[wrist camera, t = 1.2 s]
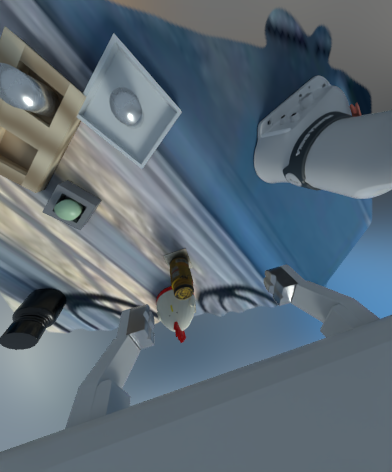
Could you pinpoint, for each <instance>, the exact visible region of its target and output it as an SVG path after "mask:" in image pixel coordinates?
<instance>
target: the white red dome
mask: <svg viewBox="0 0 392 472" xmlns="http://www.w3.org/2000/svg"><path fill="white" fill-rule="evenodd" d="M157 311H158V312H157V314H158V319H159V321H160V320H161V322H162V323H163V324H164V325H165V326H166V327H167V328H168V329H170V330H171V331H173V332H176V337H178V339H179V340H180V342H181V343H182V342H183V341H184V340H185V338H186V336H185V332H184V330H185V329H186V328H187V327H188V326H189V324H190V323H191V321H192V318H193V315H194V313H196V304H195V297H194V293H193V295H192V296H191V297H190V298H188V299H185V300H179V299H177V298H176V297H175V296H174V291H173V289H172V286H170V287H168V288H165V289H164V290H163V291H161V292H160V293H159V295H158V296H157Z"/></svg>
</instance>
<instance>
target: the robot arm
mask: <svg viewBox="0 0 392 472" xmlns="http://www.w3.org/2000/svg"><path fill="white" fill-rule="evenodd" d="M322 85H323V87H322ZM355 107H356V108H355ZM355 107H354V106H353V105H352V104H351V105H350V108H349V104H348V101H347V98H346V96H345V94H344V93H343V91H342V90H341V89H340V88H338V87H336V86H331V84H330V83H329V82H328V81H327V80H326V79H325V78H324V77H322V76H320V75H318V76H314V77H313V78H311V79H310V80H309V81H308V82H307V83H305V84H304V85H303V86H302V87H301V88H300V89H298V90H297V91H296V92H295V93H294V94H292V95H291V96H290V97H289V98H288V99H287V100H285V101H284V102H283V103H282V104H281V105H279V106H278V107H277V108H276V109H275V110H274V111H272V112H271V113H270V114H269V115H268V116H266V117H265V118H264V119H263V120H262V121H261V122H260V123H259V125H258V142H257V146H256V149H255V154H254V166H255V170H256V172H257V174H258V176H259V177H260V178H261V179H262V180H263V181H265V182H268V183H277V182H289V183H292V184H294V185H297V186H301V187H304V188H308V189H313V190H326V191H330V192H334V193H338V194H341V195H345V196H349V197H353V198H358V199H365V198H372V197H375V196H378V195H381V194H383V193H386V192H388V191H390V190H392V110H389V111H384V112H380V113H374V114H368V115H363V116H361V112H360V108H359V106H358V104H357V103H356V104H355ZM350 110H351V113H352V116H351V113H350ZM268 121H269V124H268ZM265 275H266V277H265V278H264V285H265V287H266V289H267V290H268V292H269V293H271V294H273V298H274V300H275V301H276V302H277V304H278V305H279V306H281V305H284V304H288V303H292V304H293V305H295V306H297V307H298V308H300V309H302V310H303V311H305V312H306V313H308V314H310V315H311V316H313V317H315V318H316V319H318V320H320V321H321V322H323V325H322V327H321V330H320V331H321V332H322V333H323V335H325V337H326V338H324V339H321V340H319V341H316V342H313V343H310V344H307V345H304V346H301V347H299V348H296V349H293V350H290V351H287V352H284V353H281V354H279V355H276V356H273V357H270V358H267V359H264V360H261V361H259V362H256V363H253V364H250V365H247V366H244V367H241V368H239V369H236V370H233V371H230V372H227V373H224V374H221V375H219V376H216V377H213V378H210V379H207V380H204V381H201V382H199V383H196V384H193V385H190V386H187V387H184V388H181V389H179V390H176V391H173V392H170V393H167V394H164V395H162V396H159V397H156V398H153V399H150V400H147V401H144V402H142V403H139V404H136V405H133V406H130V395H129V394H128V393H127V392H125V391H124V390H123V389H122V388H123V386H124V384H125V382H126V380H127V377H128V375H129V373H130V371H131V369H132V367H133V365H134V363H135V361H136V359H137V357H138V355H139V353H140V350H141V349H144V348H147V347H150V346H153V345H154V332H153V328H154V316H153V313H152V311H149V309H150V307H149V305H148V304H147V305H143V306H139V307H135V308H131V309H127V310H124V311H123V312H122V313H121V318H120V323H119V327H118V332H117V337H116V339H114V340H113V341H112V342H111V344H110V345H109V346H108V348H107V349H106V351H105V352H104V353H103V355H102V356H101V358H100V359H99V360H98V362H97V363H96V364H95V366H94V367H93V369H92V370H91V371H90V373H89V374H88V375H87V377H86V378H85V380H84V381H83V382H82V384H81V385H80V387H79V388H78V391H77V394H76V397H75V400H74V403H73V406H72V409H71V412H70V415H69V419H68V422H67V425H66V428H65V429H64V430H62V431H59V432H56V433H53V434H50V435H47V436H44V437H42V438H39V439H36V440H33V441H30V442H27V443H25V444H22V445H19V446H16V447H13V448H10V449H8V450H5V451H2V452H0V472H392V315H390V316H387V317H384V318H382V319H379V318H378V317H377V316H376V315H374V314H373V313H372V312H370V311H369V310H368V309H367V308H365V307H364V306H363V305H361V304H360V303H359V302H358V301H356V300H355V299H354V298H351V297H348V296H346V295H343V294H340V293H338V292H335V291H333V290H330V289H328V288H325V287H323V286H320V285H317V284H315V283H312V282H310V281H305V280H304V279H303V278H302V277H301V276H300V275H298V274H297V273H296V272H295V271H294V270H293V269H292V268H291V267H290V266H288V265H283V266H280V267H276V268H272V269H269V270H266V271H265Z"/></svg>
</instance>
